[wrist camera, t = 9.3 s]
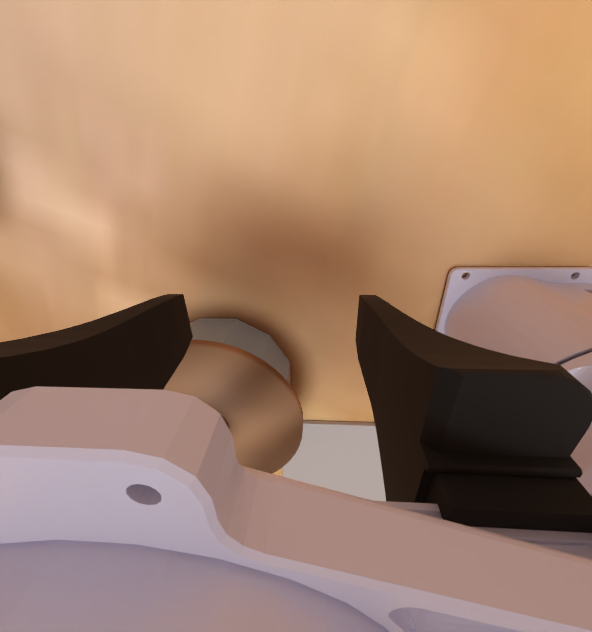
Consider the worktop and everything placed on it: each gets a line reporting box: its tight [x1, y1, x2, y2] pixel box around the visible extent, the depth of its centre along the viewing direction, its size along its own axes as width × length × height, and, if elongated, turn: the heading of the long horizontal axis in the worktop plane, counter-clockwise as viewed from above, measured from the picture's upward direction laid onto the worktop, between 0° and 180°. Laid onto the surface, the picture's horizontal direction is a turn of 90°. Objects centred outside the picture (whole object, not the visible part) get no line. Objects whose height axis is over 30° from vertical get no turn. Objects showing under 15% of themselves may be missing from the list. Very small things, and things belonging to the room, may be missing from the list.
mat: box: [282, 420, 386, 501], centre depth 31 cm, size 17×17×1 cm
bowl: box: [190, 318, 291, 385], centre depth 24 cm, size 11×11×4 cm
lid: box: [163, 340, 303, 474], centre depth 20 cm, size 14×14×4 cm
